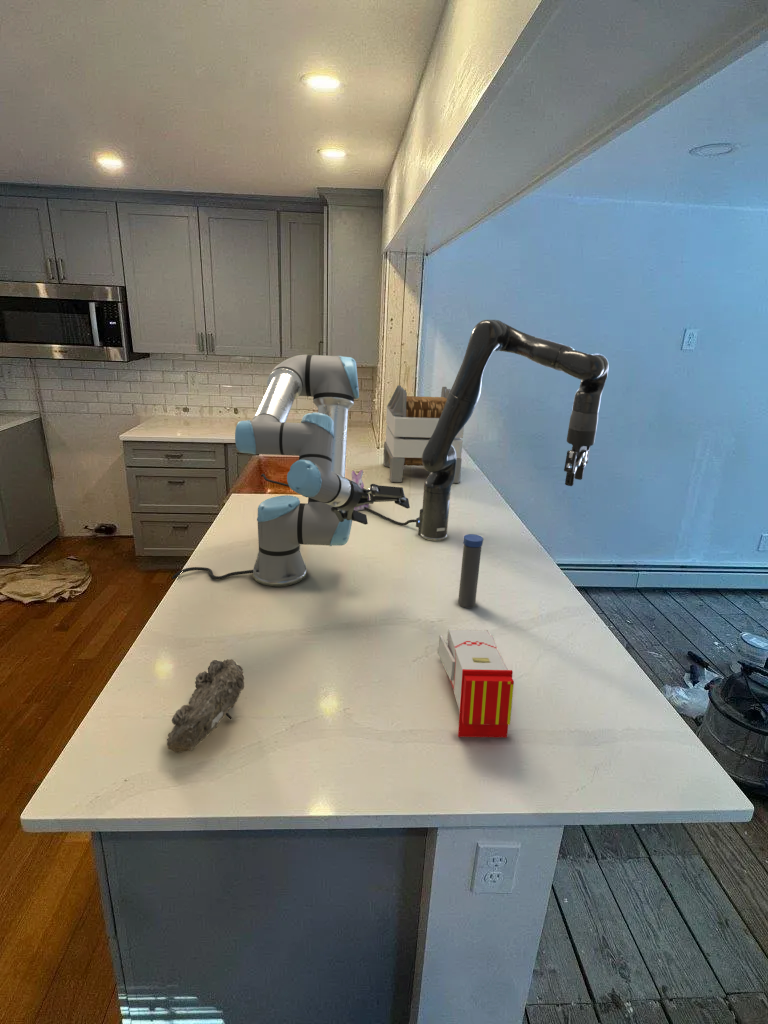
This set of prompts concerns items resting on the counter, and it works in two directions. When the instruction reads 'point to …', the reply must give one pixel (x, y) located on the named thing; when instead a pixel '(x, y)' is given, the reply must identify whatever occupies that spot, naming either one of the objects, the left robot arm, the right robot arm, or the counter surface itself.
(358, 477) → the figurine
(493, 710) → the toy
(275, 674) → the counter surface
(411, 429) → the grey storage crate
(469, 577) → the grey cylinder
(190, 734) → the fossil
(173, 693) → the counter surface
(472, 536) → the lid
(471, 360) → the right robot arm
